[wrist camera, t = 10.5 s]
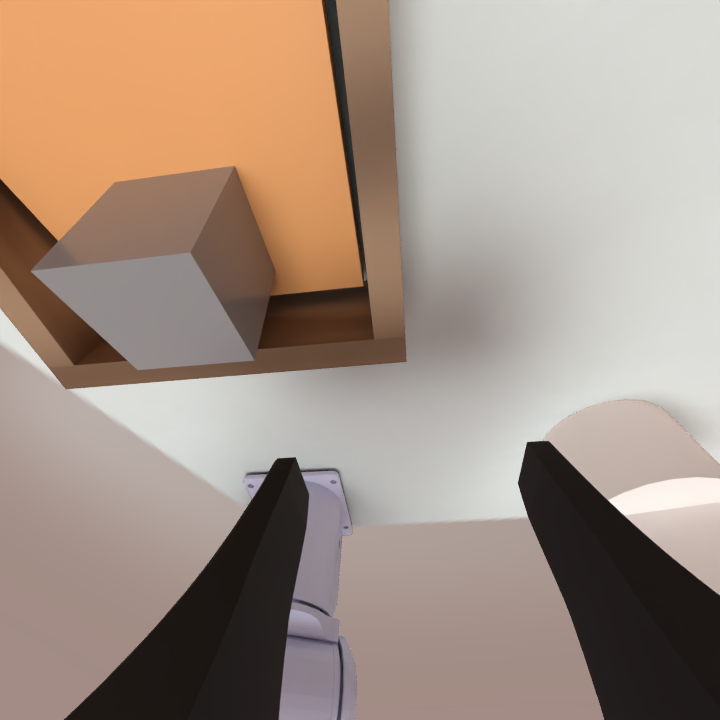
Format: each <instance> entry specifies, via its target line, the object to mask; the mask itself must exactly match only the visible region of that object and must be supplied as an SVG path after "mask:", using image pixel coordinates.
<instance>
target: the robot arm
mask: <svg viewBox="0 0 720 720" xmlns="http://www.w3.org/2000/svg"><path fill="white" fill-rule="evenodd" d="M243 483H244V485H245V486H246V488H247V490H248V492H249V494H250V496H251V498H252V500H251V502H250V503H249V505H248V506H247V508H246V510H245V511H244V513H243V514H242V516H241V517H240V519H239V520H238V522H237V523H236V525H235V526H234V528H233V529H232V531H231V532H230V534H229V535H228V536H227V538H226V539H225V541H224V542H223V543H222V545H221V546H220V548H219V549H218V550H217V552H216V553H215V555H214V556H213V557H212V559H211V560H210V562H209V563H208V564H207V565H206V567H205V568H204V569H203V571H202V572H201V573H200V574H199V576H198V577H197V578H196V579H195V581H194V582H193V583H192V584H191V586H190V587H189V588H188V589H187V591H186V592H185V593H184V595H183V596H182V597H181V598H180V599H179V600H178V601H177V603H176V604H175V605H174V606H173V607H172V608H171V610H170V611H169V612H168V613H167V614H166V615H165V617H164V618H163V619H162V620H161V621H160V622H159V623H158V625H157V626H156V627H155V628H154V629H153V630H152V631H151V632H150V633H149V635H148V636H147V637H146V638H145V639H144V640H143V641H142V642H141V643H140V644H139V645H138V646H137V647H136V648H135V649H134V650H133V652H132V653H131V654H130V655H129V656H128V657H127V658H126V659H125V660H124V661H123V662H122V663H121V664H120V665H119V666H118V667H117V668H116V669H115V670H114V671H113V672H112V673H111V674H110V675H109V677H108V678H107V679H106V680H105V681H104V682H103V683H102V684H101V685H100V686H99V687H98V688H97V689H96V690H95V691H93V692H92V693H91V694H90V695H89V696H88V697H87V698H86V699H85V700H84V701H83V702H82V703H81V704H80V705H79V706H78V707H77V708H76V709H75V710H74V711H73V712H71V713H70V715H68V716H67V717H66V718H65V719H64V720H355V714H356V700H357V675H356V665H355V660H354V656H353V653H352V651H351V649H350V647H349V644H348V642H347V640H346V638H345V637H343V636H340V635H339V623H340V622H339V621H340V620H339V619H337V618H333V614H334V612H335V609H336V605H337V599H338V585H339V570H340V558H341V543H342V536H346V535H347V536H348V535H351V534H352V533H353V529H352V525H351V521H350V517H349V513H348V509H347V505H346V501H345V497H344V493H343V489H342V485H341V481H340V477H339V474H338V473H337V472H336V471H317V472H301V471H300V468H299V465H298V463H297V460H296V457H294V458H279V459H277V460H276V461H275V462H274V464H273V465H272V467H271V469H270V471H269V472H268V474H260V475H247V476H245V477H244V480H243ZM518 485H519V488H520V492H521V495H522V498H523V502H524V505H525V508H526V511H527V514H528V517H529V520H530V522H531V524H532V527H533V529H534V531H535V534H536V536H537V538H538V541H539V543H540V545H541V548H542V550H543V552H544V555H545V557H546V559H547V561H548V564H549V566H550V568H551V570H552V573H553V575H554V577H555V579H556V582H557V584H558V586H559V589H560V591H561V593H562V596H563V598H564V600H565V603H566V605H567V608H568V611H569V613H570V616H571V618H572V622H573V624H574V627H575V630H576V633H577V636H578V639H579V642H580V645H581V648H582V651H583V653H584V657H585V660H586V663H587V666H588V669H589V672H590V675H591V678H592V681H593V684H594V688H595V691H596V694H597V697H598V700H599V703H600V706H601V710H602V713H603V716H604V720H720V595H719V594H718V593H716V592H715V591H714V590H712V589H711V588H710V587H708V586H707V585H706V584H704V583H703V582H702V581H701V580H699V579H698V578H697V577H696V576H694V575H693V574H692V573H691V572H689V571H688V570H687V569H686V568H684V567H683V566H682V565H681V564H680V563H678V562H677V561H676V560H675V559H673V558H672V557H671V556H670V555H669V554H667V553H666V552H665V551H664V550H663V549H662V548H660V547H659V546H658V545H657V544H656V543H655V542H653V541H652V540H651V539H650V538H649V537H648V536H647V535H645V534H644V533H643V532H642V531H641V530H640V529H639V528H637V527H636V526H635V525H634V524H633V523H632V522H631V521H630V520H629V519H628V518H626V517H625V516H624V515H623V514H622V513H621V512H620V511H619V510H618V509H617V508H616V507H615V506H614V505H613V504H611V503H610V502H609V501H608V500H607V499H606V498H605V497H604V496H603V495H602V494H601V493H600V492H599V491H598V490H597V489H596V488H595V487H594V486H593V485H592V484H591V483H590V482H589V481H588V480H587V479H586V478H585V477H584V476H583V475H582V474H581V473H580V472H579V471H578V470H577V469H576V468H575V467H574V466H573V465H572V464H571V463H570V462H569V461H568V460H567V459H566V458H565V457H564V456H563V455H562V454H561V453H560V452H559V451H558V450H557V449H556V448H555V447H554V446H553V445H552V443H550V442H549V441H537V442H527V445H526V449H525V454H524V459H523V463H522V468H521V472H520V477H519V481H518Z"/></svg>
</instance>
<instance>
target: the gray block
mask: <svg viewBox="0 0 720 720" xmlns="http://www.w3.org/2000/svg"><path fill="white" fill-rule="evenodd" d="M31 272H32V273H33V274H34V275H35V276H36V277H37V278H38V279H40V280H41V281H42V282H43V283H44V284H45V285H46V286H47V287H48V288H49V289H50V290H51V291H53V292H54V293H55V294H56V295H57V296H58V297H59V298H60V299H61V300H62V301H63V302H64V303H66V304H67V305H68V306H69V307H70V308H71V309H72V310H73V311H74V312H75V313H76V314H77V315H79V316H80V317H81V318H82V319H83V320H84V321H85V322H86V323H87V324H88V325H89V326H90V327H92V328H93V329H94V330H95V331H96V332H97V333H98V334H99V335H100V336H101V337H102V338H103V339H105V340H106V341H107V342H108V343H109V344H110V345H111V346H112V347H113V348H114V349H115V350H116V351H118V352H119V353H120V354H121V355H122V356H123V357H124V358H125V359H126V360H127V361H128V362H130V363H131V364H132V365H133V366H134V367H135V368H136V369H137V370H145V369H157V368H170V367H182V366H194V365H206V364H218V363H230V362H242V361H255V357H256V353H257V349H258V345H259V340H260V336H261V332H262V328H263V323H264V319H265V315H266V310H267V306H268V302H269V298H270V293H271V289H272V285H273V281H274V276H275V272H276V271H275V268H274V266H273V263H272V261H271V258H270V255H269V253H268V250H267V248H266V245H265V243H264V240H263V237H262V235H261V232H260V230H259V227H258V224H257V222H256V219H255V217H254V214H253V211H252V209H251V206H250V204H249V201H248V199H247V196H246V193H245V191H244V188H243V186H242V183H241V180H240V178H239V175H238V173H237V170H236V167H235V166H229V167H222V168H214V169H207V170H200V171H192V172H185V173H178V174H170V175H163V176H156V177H149V178H141V179H134V180H127V181H119V182H114V183H113V185H112V186H111V187H110V188H109V189H108V190H107V191H106V192H105V193H104V194H103V195H102V196H101V197H100V198H99V199H98V200H97V201H96V202H95V203H94V205H93V206H92V207H91V208H90V209H89V210H88V211H87V212H86V213H85V214H84V215H83V216H82V217H81V218H80V219H79V220H78V221H77V222H76V223H75V224H74V226H73V227H72V228H71V229H70V230H69V231H68V232H67V233H66V234H65V235H64V236H63V237H62V238H61V239H60V240H59V241H58V242H57V243H56V244H55V245H54V247H53V248H52V249H51V250H50V251H49V252H48V253H47V254H46V255H45V256H44V257H43V258H42V259H41V260H40V261H39V262H38V263H37V264H36V265H35V266H34V268H33V269H32V270H31Z"/></svg>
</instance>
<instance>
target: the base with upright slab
mask: <svg viewBox="0 0 720 720" xmlns="http://www.w3.org/2000/svg"><path fill="white" fill-rule="evenodd" d="M543 441H549V442H550V443H552V445H553V446H554V447H555V448H556V449H557V450H558V451H559V452H560V453H561V454H562V455H563V456H564V457H565V458H566V459H567V460H568V461H569V462H570V463H571V464H572V465H573V466H574V467H575V468H576V469H577V470H578V471H579V472H580V473H581V474H582V475H583V476H584V477H585V478H586V479H587V480H588V481H589V482H590V483H591V484H592V485H593V486H594V487H595V488H596V489H597V490H598V491H599V492H600V493H601V494H602V495H603V496H604V497H605V498H606V499H607V500H608V501H609V502H610V503H611V504H613V505H614V506H615V507H616V508H617V509H618V510H619V511H620V512H621V513H622V514H623V515H624V516H625V517H626V518H628V519H629V520H630V521H631V522H632V523H633V524H634V525H635V526H636V527H637V528H639V529H640V530H641V531H642V532H643V533H644V534H645V535H647V536H648V537H649V538H650V539H651V540H652V541H653V542H655V543H656V544H657V545H658V546H659V547H660V548H662V549H663V550H664V551H665V552H666V553H667V554H669V555H670V556H671V557H672V558H673V559H675V560H676V561H677V562H678V563H680V564H681V565H682V566H683V567H684V568H686V569H687V570H688V571H689V572H691V573H692V574H693V575H694V576H696V577H697V578H698V579H699V580H701V581H702V582H703V583H704V584H706V585H707V586H708V587H710V588H711V589H712V590H714V591H715V592H716V593H718V594H719V595H720V464H719V463H718V462H717V461H716V460H715V459H714V458H713V457H712V456H711V455H710V454H709V453H708V452H707V451H706V450H705V449H704V448H703V447H702V446H701V445H700V444H699V443H698V442H697V441H696V440H695V439H694V438H693V437H691V436H690V435H689V434H688V433H687V432H686V431H685V430H684V429H683V428H682V427H681V426H680V425H679V424H678V423H677V422H676V421H675V420H674V419H673V418H672V417H671V416H670V415H669V414H668V413H667V412H666V411H664V410H663V409H662V408H660V407H659V406H658V405H655V404H652V403H649V402H646V401H641V400H627V399H625V400H617V401H608V402H604V403H600V404H597V405H593V406H590V407H587V408H585V409H582V410H580V411H578V412H576V413H574V414H572V415H570V416H568V417H567V418H565V419H564V420H562V421H561V422H559V423H558V424H557V425H555V426H554V427H553V428H552V430H551V431H550V432H549V433H548V434H547V435H546V436H545V438H544V439H543Z"/></svg>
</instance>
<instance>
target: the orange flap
mask: <svg viewBox="0 0 720 720" xmlns="http://www.w3.org/2000/svg"><path fill="white" fill-rule="evenodd" d="M229 166H235V167H236V170H237V173H238V175H239V178H240V180H241V183H242V186H243V188H244V191H245V193H246V196H247V199H248V201H249V204H250V206H251V209H252V211H253V214H254V217H255V219H256V222H257V224H258V227H259V230H260V232H261V235H262V237H263V240H264V243H265V245H266V248H267V250H268V253H269V255H270V258H271V261H272V263H273V266H274V268H275V271H276V272H275V276H274V281H273V285H272V289H271V293H270V296H272V295H282V294H292V293H302V292H311V291H321V290H331V289H341V288H350V287H360V286H364V284H363V267H362V260H361V253H360V246H359V239H358V232H357V225H356V218H355V211H354V204H353V197H352V190H351V183H350V176H349V168H348V161H347V154H346V147H345V140H344V133H343V126H342V119H341V112H340V105H339V98H338V91H337V84H336V77H335V70H334V63H333V56H332V49H331V42H330V34H329V27H328V20H327V13H326V6H325V0H0V179H1V180H2V181H3V182H4V183H5V184H6V185H7V186H8V187H9V189H10V190H11V191H12V192H13V193H14V194H15V195H16V196H17V197H18V198H19V199H20V200H21V201H22V203H23V204H24V205H25V206H26V207H27V208H28V209H29V210H30V211H31V212H32V213H33V214H34V215H35V217H36V218H37V219H38V220H39V221H40V222H41V223H42V224H43V225H44V226H45V227H46V228H47V229H48V231H49V232H50V233H51V234H52V235H53V236H54V237H55V238H56V239H57V240H58V241H59V240H60V239H61V238H62V237H63V236H64V235H65V234H66V233H67V232H68V231H69V230H70V229H71V228H72V227H73V226H74V224H75V223H76V222H77V221H78V220H79V219H80V218H81V217H82V216H83V215H84V214H85V213H86V212H87V211H88V210H89V209H90V208H91V207H92V206H93V205H94V203H95V202H96V201H97V200H98V199H99V198H100V197H101V196H102V195H103V194H104V193H105V192H106V191H107V190H108V189H109V188H110V187H111V186H112V185H113V183H114V182H119V181H127V180H134V179H141V178H149V177H156V176H163V175H170V174H178V173H185V172H192V171H200V170H207V169H214V168H222V167H229Z"/></svg>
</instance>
